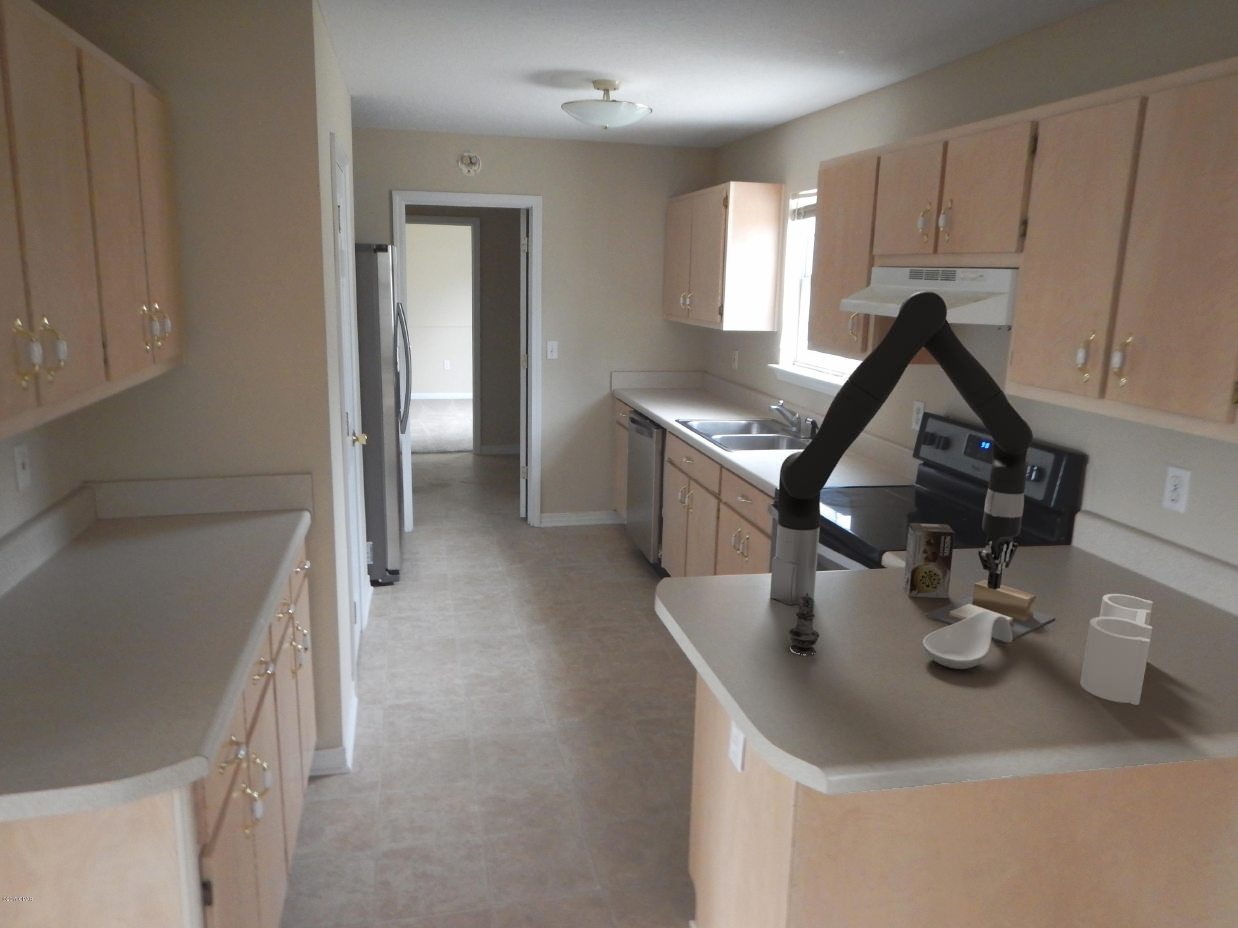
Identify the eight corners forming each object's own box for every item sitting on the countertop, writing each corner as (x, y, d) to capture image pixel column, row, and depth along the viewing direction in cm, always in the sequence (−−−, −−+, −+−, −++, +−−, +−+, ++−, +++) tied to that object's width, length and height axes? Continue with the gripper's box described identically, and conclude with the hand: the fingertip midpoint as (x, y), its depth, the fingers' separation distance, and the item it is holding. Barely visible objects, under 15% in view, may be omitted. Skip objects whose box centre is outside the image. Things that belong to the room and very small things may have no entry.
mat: (1004, 643, 180) (1004, 641, 180) (925, 615, 194) (925, 613, 194) (1055, 619, 194) (1055, 617, 194) (978, 594, 208) (978, 593, 208)
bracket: (1092, 646, 181) (1101, 589, 178) (1147, 658, 175) (1157, 600, 173) (1076, 692, 160) (1086, 629, 157) (1138, 707, 155) (1149, 643, 152)
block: (1024, 621, 191) (1027, 599, 190) (972, 604, 200) (974, 583, 199) (1033, 617, 194) (1036, 595, 193) (981, 600, 203) (984, 579, 202)
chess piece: (819, 646, 176) (824, 589, 173) (816, 658, 171) (821, 599, 168) (789, 642, 178) (794, 585, 175) (785, 653, 172) (789, 595, 170)
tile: (1012, 622, 190) (993, 642, 186) (969, 607, 198) (949, 626, 194) (1011, 607, 189) (992, 627, 185) (968, 593, 196) (948, 612, 192)
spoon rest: (965, 683, 162) (969, 646, 161) (909, 660, 171) (912, 626, 169) (1028, 648, 177) (1032, 615, 175) (973, 629, 186) (976, 597, 184)
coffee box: (941, 589, 210) (948, 523, 207) (948, 599, 204) (956, 531, 201) (901, 587, 211) (908, 521, 208) (907, 596, 205) (914, 529, 202)
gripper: (1002, 502, 196) (992, 577, 200) (970, 511, 188) (961, 589, 191) (1035, 510, 190) (1025, 586, 194) (1004, 519, 182) (994, 599, 186)
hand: (993, 587), depth 193 cm, fingers closed
